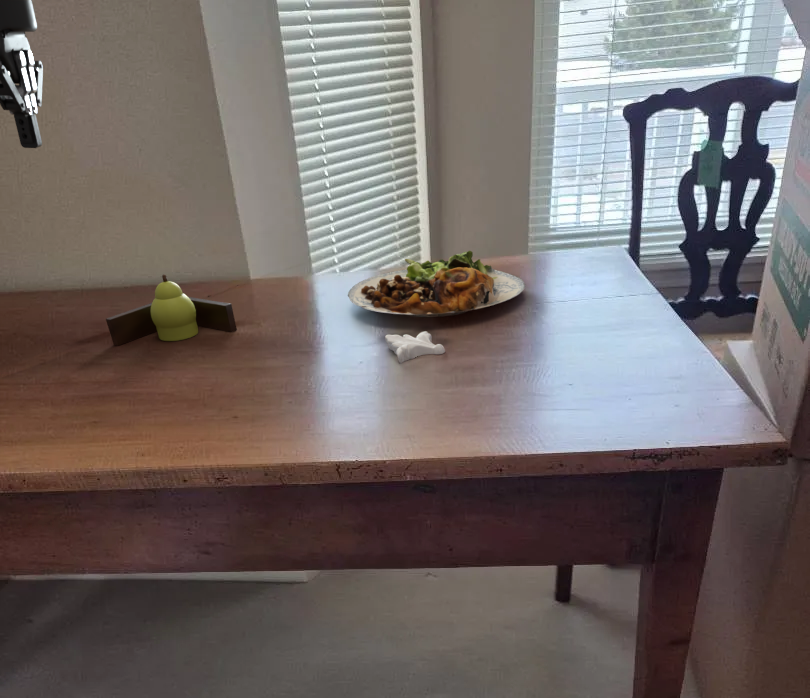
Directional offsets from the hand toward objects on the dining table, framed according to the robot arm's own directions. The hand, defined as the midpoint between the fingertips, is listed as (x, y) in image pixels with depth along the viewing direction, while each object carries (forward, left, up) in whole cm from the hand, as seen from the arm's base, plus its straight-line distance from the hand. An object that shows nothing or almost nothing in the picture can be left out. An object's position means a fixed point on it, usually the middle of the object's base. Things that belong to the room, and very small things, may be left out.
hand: (32, 147), depth 96 cm
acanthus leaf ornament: (+18, -47, -27) cm, 57 cm away
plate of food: (+38, -37, -27) cm, 60 cm away
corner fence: (+8, -9, -27) cm, 29 cm away
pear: (+9, -9, -27) cm, 30 cm away
